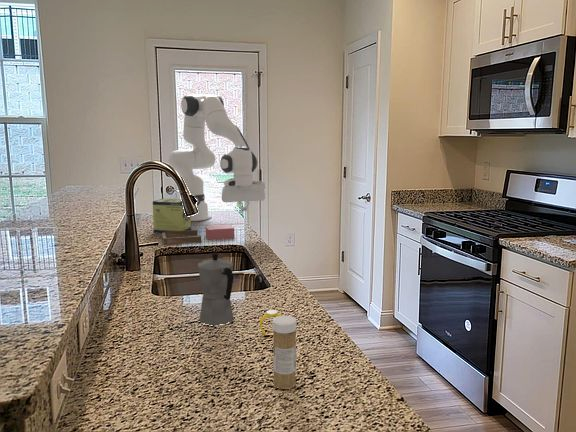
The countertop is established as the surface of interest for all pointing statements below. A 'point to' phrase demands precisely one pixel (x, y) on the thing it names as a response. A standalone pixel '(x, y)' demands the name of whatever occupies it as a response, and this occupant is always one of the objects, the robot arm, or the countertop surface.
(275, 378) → the sprinkles bottle
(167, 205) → the protein box
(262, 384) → the countertop surface
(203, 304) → the coffeepot
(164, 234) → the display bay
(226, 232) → the carton
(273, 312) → the watch
